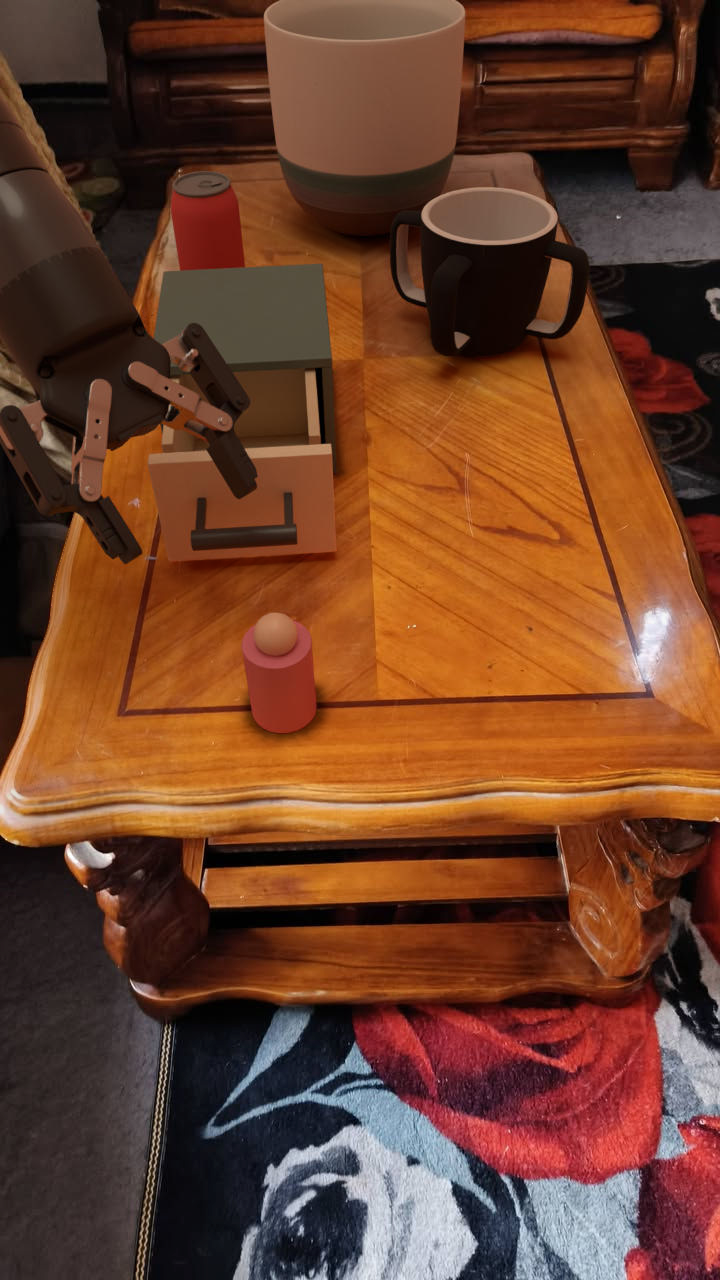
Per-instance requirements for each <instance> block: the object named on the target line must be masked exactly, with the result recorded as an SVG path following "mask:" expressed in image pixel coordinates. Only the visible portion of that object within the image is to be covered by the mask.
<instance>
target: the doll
mask: <svg viewBox="0 0 720 1280" xmlns="http://www.w3.org/2000/svg"><path fill="white" fill-rule="evenodd" d="M241 652H242V658H243V663H244V671H245V677H246V685H247V689H248V690H247V691H248V697H249V702H250V708H251V709H250V710H251V715H252V718H253V720H254V721H255V723H257V725H258V726H259V727H260V728H262V729H264V730H265V731H268V732H271V733H274V734H289V733H295V732H298V731H300V730H302V729H303V728H305V727H306V726H307V725H308V724H310V722H312V721H313V719H314V717H315V715H316V713H317V709H318V707H317V693H316V680H315V666H314V654H313V652H314V651H313V642H312V636H311V634H310V631H309V630H308V628H307V627H306V626H305V625H304V624H302V623H301V622H299V621H296V620H294V619H292V618H291V617H290V616H288V615H287V614H285V613H282V612H276V611H275V612H268V613H266V614H264V615H263V616H261V617H260V618H259V619H258V620H257V622H256V623H255V624H254V625H252V626H251V627H250V628H249V629H248V630H247V631H246V632H245V633H244V636H243V638H242V641H241Z"/></svg>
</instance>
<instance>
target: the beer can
mask: <svg viewBox="0 0 720 1280" xmlns="http://www.w3.org/2000/svg"><path fill="white" fill-rule="evenodd" d="M231 183H232V180H231V179H230V177H229V176H228V175H226V174H224V173H222V172H218V171H210V170H203V171H202V170H200V171H199V170H197V171H193V172H189V173H185V174H182V175H180V176H178V177H176V179H174V181H173V182H172V185H171V186H172V187H171V188H172V194H171V201H170V215H171V221H172V228H173V235H174V240H175V246H176V254H177V259H178V266H179V271H182V270H202V269H222V268H243V267H246V263H245V254H244V243H243V233H242V224H241V215H240V206H239V200H238V197H237V194H236V192H235V190H234V189H233V187H232V184H231Z"/></svg>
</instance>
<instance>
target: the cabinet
mask: <svg viewBox="0 0 720 1280" xmlns="http://www.w3.org/2000/svg"><path fill="white" fill-rule="evenodd" d="M324 275H325V273H324V265H323V263H306V264H287V265H285V264H284V265H263V266H247V267H246V266H245V267H243V268H222V269H202V270H182V271H180V270H167V271H166V270H164V271H163V272H162V279H161V286H160V293H159V298H158V299H159V300H158V305H157V313H156V320H155V326H154V333H153V338H154V339H155V340H156V341H157V342H159V343H160V344H163V343H165V342H167V341H169V340H171V339H172V338H174V337H176V336H178V335H180V334H181V333H182V332H183V330H184V329H186V327H187V326H188V325H189V324H191V323H197V324H199V325H201V326H202V327H203V329H204V330H205V332H206V333H207V335H208V336H209V338H210V339H211V341H212V342H213V344H214V345H215V347H216V348H217V350H218V351H219V353H220V354H221V356H222V357H223V359H224V360H225V362H226V363H227V365H228V366H229V368H230V369H231V371H232V372H245V371H263V370H282V369H301V368H315V374H316V387H317V400H318V413H319V426H320V441H321V444H331V448H332V464H333V474H337V473H338V469H337V465H338V464H337V445H336V443H337V442H336V421H335V420H336V419H335V417H336V416H335V397H334V394H335V393H334V373H333V370H334V369H333V355H332V346H331V344H332V343H331V333H330V324H329V314H328V303H327V295H326V285H325V276H324ZM189 374H190V373H189V372H185V371H182V370H180V369H179V367H178V366H177V365H176V364H174V363H171V367H170V375H189ZM159 426H160V430H161V435H162V434H163V426H164V425H163V424H161V423H160V424H159Z"/></svg>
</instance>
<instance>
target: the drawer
mask: <svg viewBox="0 0 720 1280" xmlns="http://www.w3.org/2000/svg"><path fill="white" fill-rule="evenodd" d="M233 374H234V375H235V377H236V379H237V380H238V382H239V383H240V385H241V386H242V388H243V389H244V391H245V392H246V394H247V395H248V397H249V399H250V405H249V407H248V408H247V409H246V410H245V411H244V412H243V413H242V414H241V416H240V417H239V418H238V419H237V421H236V422H235V425H234V431H235V434H236V435H237V437H238V439H239V441H240V442H241V444H242V446H243V447H244V449H245V451H246V452H247V455H248V456H249V457H250V459H251V461H252V462H253V464H254V466H255V467H256V470H257V475H258V477H257V478H255V481H256V483H257V489H256V490H254V491H253V492H251V493H250V494H248V495H246V496H245V497H243V498H241V499H237V498H236V497H235V496H234V495H233V493H232V492H231V490H230V488H229V487H228V485H227V483H226V482H225V480H224V478H223V477H222V475H221V473H220V472H219V470H218V468H217V467H216V465H215V463H214V462H213V460H212V458H211V457H210V455H209V453H208V452H207V450H206V449H207V448H208V447H209V446H210V445H209V443H208V442H205V441H203V440H201V439H199V438H197V437H195V436H193V435H191V434H189V433H187V432H185V431H183V430H174V429H172V428H170V427H167V426H165V425H164V426H163V434H162V433H161V442H160V443H161V444H160V445H161V450H162V452H160V453H159V452H158V453H149V454H148V459H147V468H148V472H149V476H150V481H151V486H152V491H153V495H154V496H153V497H154V500H155V505H156V508H157V513H158V519H159V523H160V528H161V532H162V536H163V543H164V546H165V550H166V554H167V559H168V562H170V563H171V562H185V561H186V562H187V561H201V560H203V561H204V560H217V559H219V560H220V559H233V558H235V559H236V558H253V557H269V556H282V555H300V554H316V553H319V554H320V553H333V552H337V531H336V511H335V490H334V489H335V487H334V473H333V464H332V448H331V444H321V441H320V426H319V413H318V400H317V387H316V374H315V368H301V369H282V370H263V371H245V372H233ZM170 380H172V381H174V382H176V383H178V384H180V385H182V386H184V387H186V388H187V389H189V390H191V391H193V392H195V393H197V394H198V395H199V396H200V397H201V399H202V400H203V401H204V402H206V403H208V404H210V403H209V401H208V400H207V398H206V397H205V395H204V394H203V392H202V391H201V389H200V388H199V386H198V385H197V383H196V382H195V380H194V379H193V377H192V376H191V374H189V375H170ZM210 405H211V404H210Z"/></svg>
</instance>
